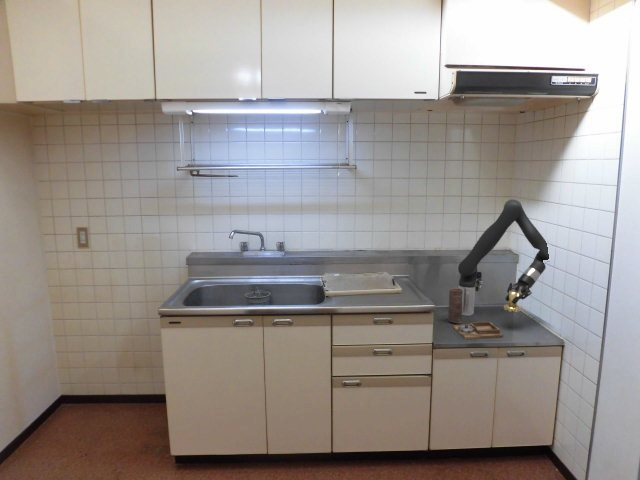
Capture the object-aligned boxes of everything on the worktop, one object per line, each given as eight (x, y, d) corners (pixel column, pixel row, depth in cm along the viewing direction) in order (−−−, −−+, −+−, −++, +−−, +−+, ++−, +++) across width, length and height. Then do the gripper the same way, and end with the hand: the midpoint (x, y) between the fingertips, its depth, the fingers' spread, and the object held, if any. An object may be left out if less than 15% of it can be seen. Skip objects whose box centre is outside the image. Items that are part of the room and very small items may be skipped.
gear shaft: (500, 306, 225) (502, 289, 223) (515, 306, 226) (516, 288, 224) (508, 312, 217) (510, 294, 215) (523, 311, 217) (525, 293, 216)
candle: (452, 325, 229) (454, 291, 226) (445, 320, 236) (446, 287, 233) (464, 323, 231) (466, 289, 228) (456, 319, 238) (458, 286, 235)
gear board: (452, 327, 227) (453, 319, 226) (487, 325, 228) (488, 317, 227) (465, 339, 211) (465, 330, 210) (502, 337, 212) (503, 328, 212)
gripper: (515, 270, 227) (496, 293, 225) (536, 276, 213) (516, 301, 212) (522, 278, 229) (503, 301, 228) (543, 285, 216) (523, 310, 214)
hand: (509, 301), depth 220 cm, fingers closed on gear shaft, 4 cm apart
